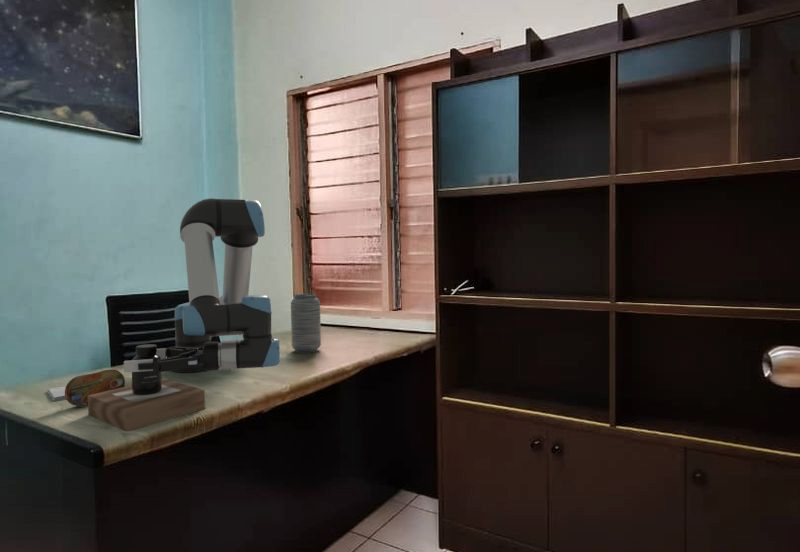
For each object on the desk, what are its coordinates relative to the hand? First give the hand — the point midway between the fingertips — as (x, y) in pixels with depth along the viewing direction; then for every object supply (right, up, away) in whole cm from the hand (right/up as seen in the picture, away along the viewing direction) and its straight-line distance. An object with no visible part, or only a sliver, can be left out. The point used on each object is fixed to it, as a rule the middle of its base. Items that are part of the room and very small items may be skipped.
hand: (132, 360), depth 129 cm
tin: (-15, -13, +10) cm, 23 cm away
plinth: (+3, -13, +2) cm, 14 cm away
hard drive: (-29, -14, +18) cm, 37 cm away
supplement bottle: (+3, -9, +1) cm, 9 cm away
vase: (+31, -9, +76) cm, 82 cm away
